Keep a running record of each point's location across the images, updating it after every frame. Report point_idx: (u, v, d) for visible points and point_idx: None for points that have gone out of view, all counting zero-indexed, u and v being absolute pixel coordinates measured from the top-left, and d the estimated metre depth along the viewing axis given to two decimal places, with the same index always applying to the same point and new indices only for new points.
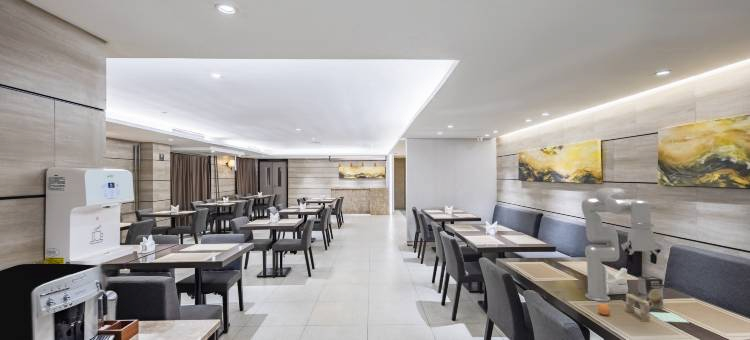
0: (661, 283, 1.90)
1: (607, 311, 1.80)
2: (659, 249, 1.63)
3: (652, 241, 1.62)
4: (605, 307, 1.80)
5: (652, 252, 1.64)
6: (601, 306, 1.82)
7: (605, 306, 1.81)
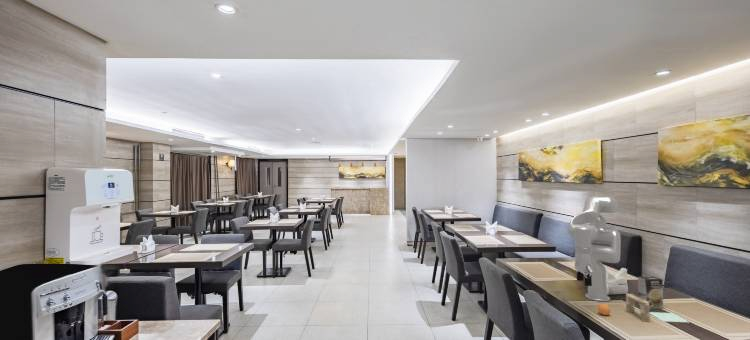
0: (661, 283, 1.90)
1: (607, 311, 1.80)
2: None
3: None
4: (605, 307, 1.80)
5: (578, 271, 1.89)
6: (601, 306, 1.82)
7: (605, 306, 1.81)
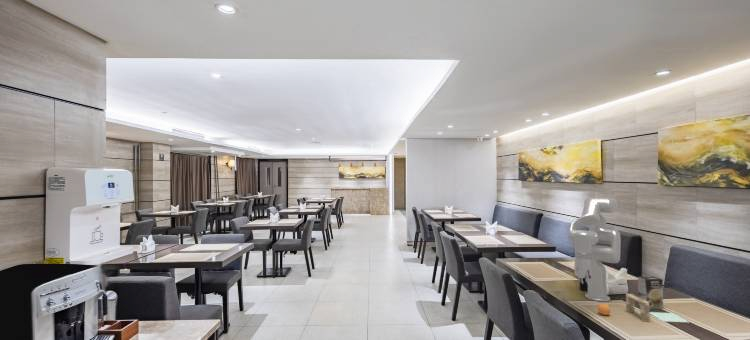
0: (661, 283, 1.90)
1: (607, 311, 1.80)
2: None
3: None
4: (605, 307, 1.80)
5: None
6: (601, 306, 1.82)
7: (605, 306, 1.81)
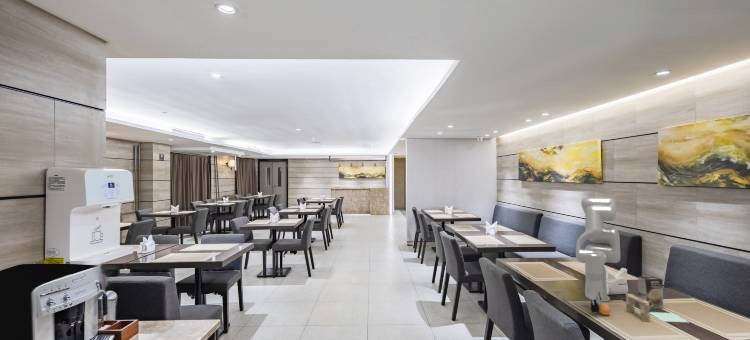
0: (661, 283, 1.90)
1: (607, 311, 1.80)
2: None
3: None
4: (605, 307, 1.80)
5: None
6: (601, 306, 1.82)
7: (605, 306, 1.81)
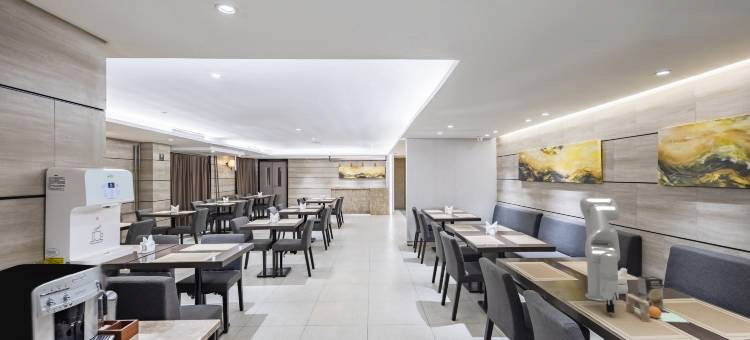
0: (661, 283, 1.90)
1: (656, 315, 1.75)
2: None
3: None
4: (660, 314, 1.75)
5: (607, 301, 1.83)
6: (660, 311, 1.76)
7: (660, 315, 1.76)
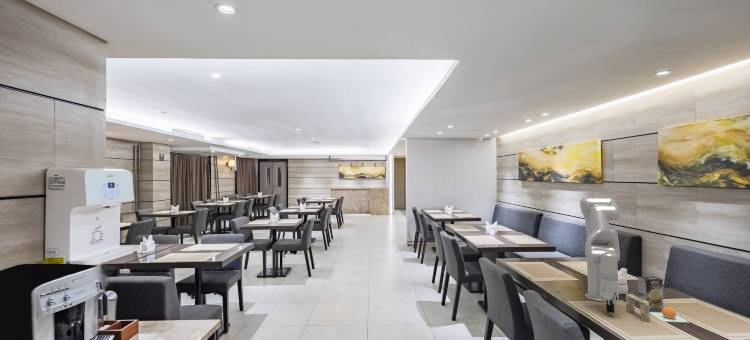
0: (661, 283, 1.90)
1: (671, 313, 1.74)
2: None
3: None
4: (668, 316, 1.75)
5: (607, 301, 1.83)
6: (668, 318, 1.76)
7: (666, 315, 1.75)
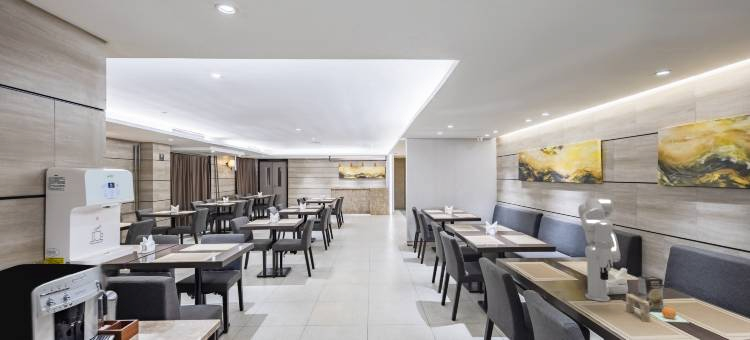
0: (661, 283, 1.90)
1: (671, 313, 1.74)
2: None
3: None
4: (668, 316, 1.75)
5: (601, 269, 1.86)
6: (668, 318, 1.76)
7: (666, 315, 1.75)
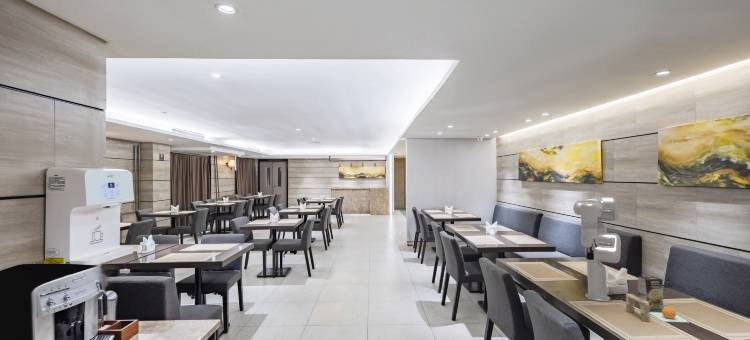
0: (661, 283, 1.90)
1: (671, 313, 1.74)
2: None
3: None
4: (668, 316, 1.75)
5: (587, 249, 1.92)
6: (668, 318, 1.76)
7: (666, 315, 1.75)
